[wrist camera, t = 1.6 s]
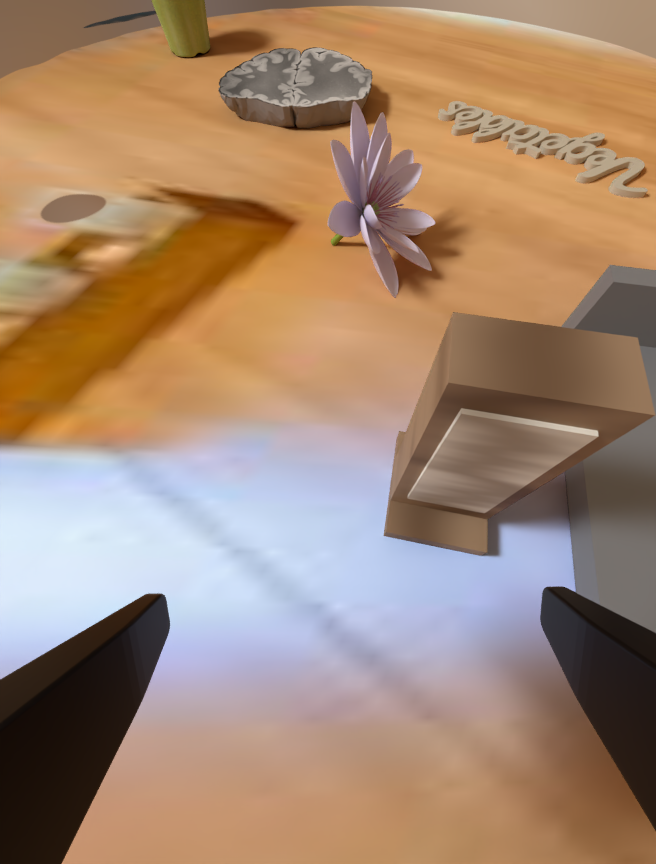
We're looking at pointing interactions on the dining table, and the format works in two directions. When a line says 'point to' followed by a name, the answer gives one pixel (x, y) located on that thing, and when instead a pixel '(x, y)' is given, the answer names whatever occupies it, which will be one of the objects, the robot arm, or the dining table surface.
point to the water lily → (378, 197)
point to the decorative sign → (546, 145)
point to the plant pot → (184, 25)
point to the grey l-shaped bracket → (618, 466)
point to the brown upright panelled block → (507, 422)
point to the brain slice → (296, 88)
